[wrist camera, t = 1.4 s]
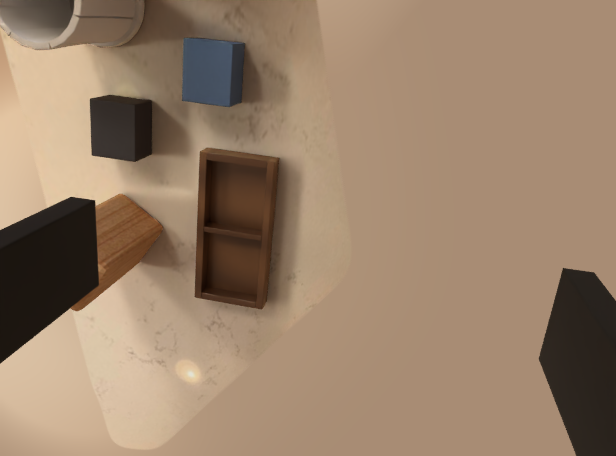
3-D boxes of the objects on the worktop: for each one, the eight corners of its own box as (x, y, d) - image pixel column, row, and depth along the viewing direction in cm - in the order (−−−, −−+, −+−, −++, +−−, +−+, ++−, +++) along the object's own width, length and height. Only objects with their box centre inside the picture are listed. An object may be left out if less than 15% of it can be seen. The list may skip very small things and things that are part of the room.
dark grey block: (109, 94, 61) (89, 98, 57) (152, 100, 60) (134, 104, 56) (110, 148, 63) (91, 155, 59) (152, 154, 62) (135, 162, 58)
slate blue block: (198, 37, 57) (183, 37, 53) (245, 43, 56) (233, 43, 52) (196, 96, 59) (181, 100, 55) (241, 102, 58) (229, 107, 54)
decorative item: (138, 264, 67) (32, 352, 48) (94, 229, 66) (-30, 304, 48) (166, 226, 64) (66, 302, 46) (121, 190, 64) (2, 252, 45)
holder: (206, 147, 60) (199, 151, 58) (279, 157, 59) (274, 162, 57) (201, 289, 66) (194, 297, 64) (267, 301, 65) (262, 309, 63)
